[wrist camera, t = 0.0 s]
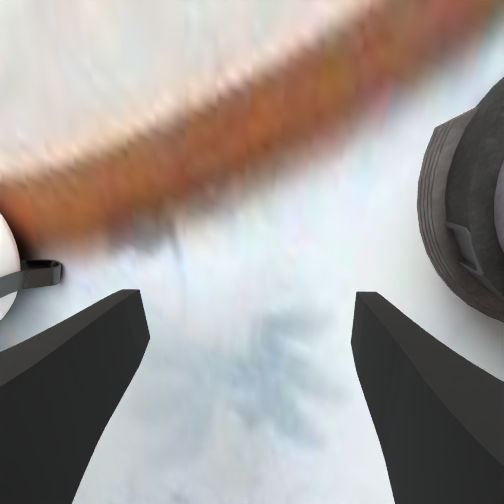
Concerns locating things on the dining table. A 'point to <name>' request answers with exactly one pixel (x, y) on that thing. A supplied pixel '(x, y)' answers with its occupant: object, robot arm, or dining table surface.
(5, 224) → the coffee press
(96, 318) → the robot arm
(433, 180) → the juicer
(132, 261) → the dining table surface
